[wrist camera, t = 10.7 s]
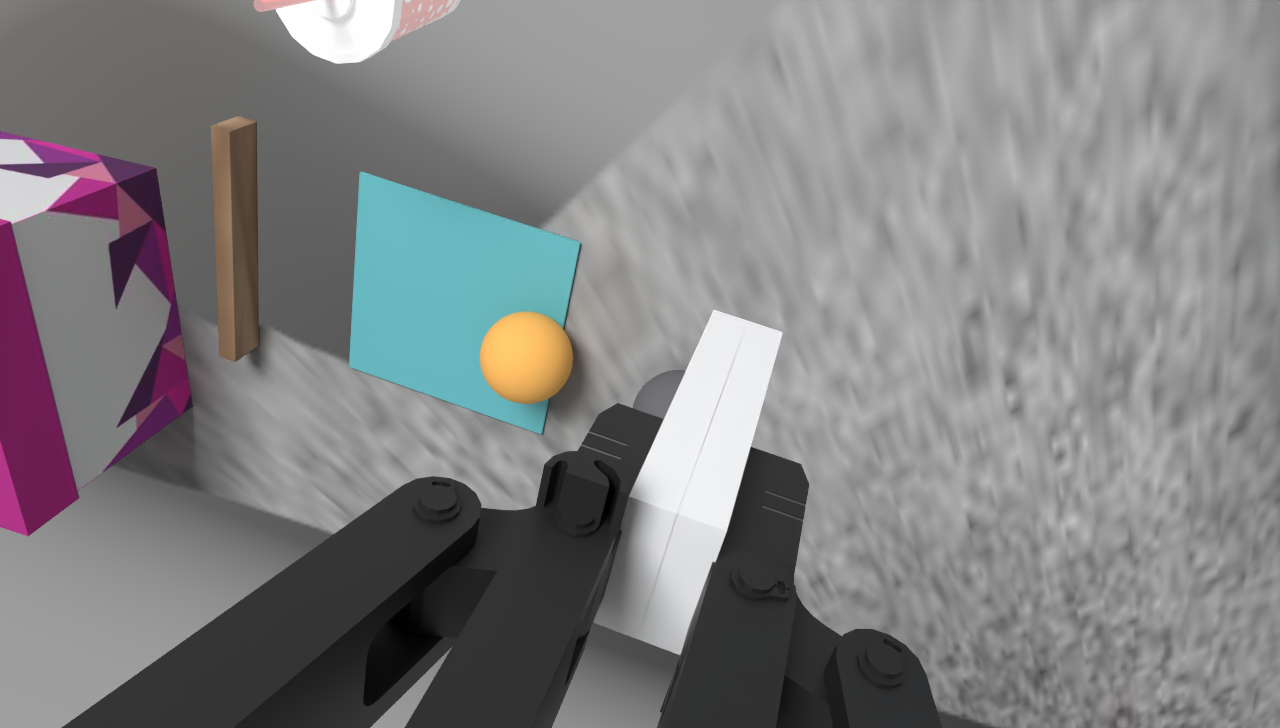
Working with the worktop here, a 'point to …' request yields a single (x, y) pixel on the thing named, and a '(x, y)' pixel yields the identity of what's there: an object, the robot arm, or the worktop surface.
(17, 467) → the decorative box
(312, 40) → the beverage cup
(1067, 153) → the worktop surface
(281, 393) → the worktop surface
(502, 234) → the teal mark
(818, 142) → the worktop surface
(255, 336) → the wall
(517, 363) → the orange ball
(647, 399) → the gray ball
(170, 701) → the robot arm
